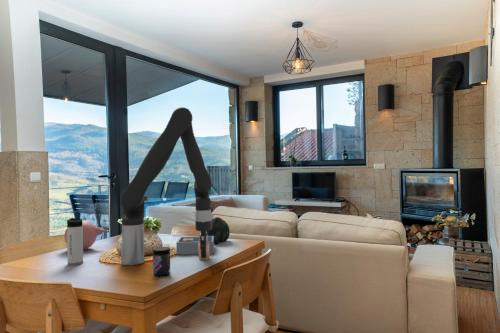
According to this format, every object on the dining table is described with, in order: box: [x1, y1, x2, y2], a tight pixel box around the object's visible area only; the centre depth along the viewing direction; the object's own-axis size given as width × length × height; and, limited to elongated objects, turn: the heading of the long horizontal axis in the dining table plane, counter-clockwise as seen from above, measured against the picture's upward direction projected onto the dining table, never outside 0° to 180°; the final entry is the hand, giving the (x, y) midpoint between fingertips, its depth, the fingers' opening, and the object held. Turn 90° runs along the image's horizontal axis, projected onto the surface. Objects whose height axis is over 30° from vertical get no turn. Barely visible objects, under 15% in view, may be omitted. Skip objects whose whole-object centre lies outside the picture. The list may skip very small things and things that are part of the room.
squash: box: [207, 216, 231, 244], centre depth 203 cm, size 14×15×15 cm
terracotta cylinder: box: [198, 242, 210, 261], centre depth 167 cm, size 5×5×7 cm
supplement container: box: [152, 246, 171, 278], centre depth 142 cm, size 7×7×10 cm
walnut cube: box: [183, 238, 194, 242], centre depth 182 cm, size 5×5×5 cm
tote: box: [175, 236, 215, 255], centre depth 183 cm, size 18×14×6 cm
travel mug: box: [66, 217, 84, 266], centre depth 161 cm, size 6×7×20 cm
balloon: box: [64, 219, 107, 251], centre depth 189 cm, size 15×20×15 cm
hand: (204, 255), depth 167 cm, fingers open, 6 cm apart
